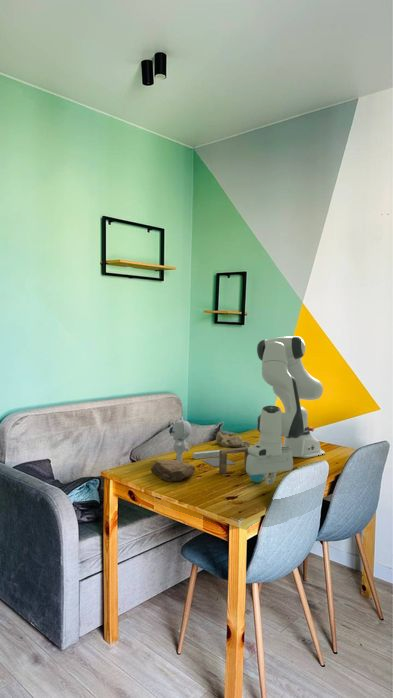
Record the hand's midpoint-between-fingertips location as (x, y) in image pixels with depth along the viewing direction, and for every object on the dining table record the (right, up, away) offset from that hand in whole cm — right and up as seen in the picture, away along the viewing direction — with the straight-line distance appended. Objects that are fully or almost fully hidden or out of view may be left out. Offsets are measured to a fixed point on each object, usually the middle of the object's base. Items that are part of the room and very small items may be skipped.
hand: (269, 483), depth 184 cm
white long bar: (-22, 0, +46) cm, 52 cm away
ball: (-4, +1, +9) cm, 10 cm away
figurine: (-9, 0, +70) cm, 70 cm away
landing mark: (-18, -1, +37) cm, 42 cm away
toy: (-36, -1, +38) cm, 53 cm away
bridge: (-11, -1, +24) cm, 26 cm away
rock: (-39, -2, +14) cm, 41 cm away
